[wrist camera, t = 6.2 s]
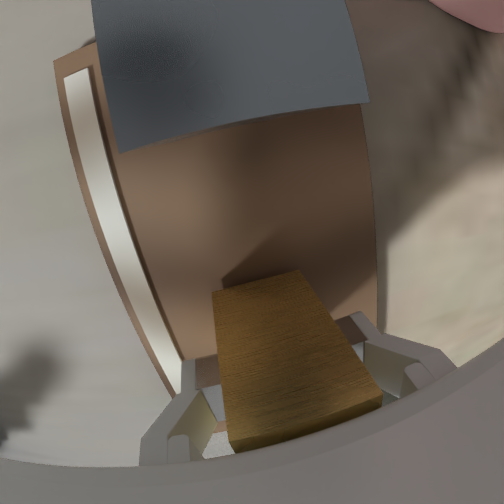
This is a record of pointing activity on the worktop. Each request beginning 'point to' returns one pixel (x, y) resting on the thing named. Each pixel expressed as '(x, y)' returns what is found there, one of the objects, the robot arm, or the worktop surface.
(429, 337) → the worktop surface
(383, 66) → the worktop surface
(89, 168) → the brown flat rectangular board
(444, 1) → the cake
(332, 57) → the grey rectangular block
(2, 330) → the worktop surface
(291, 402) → the wooden block
